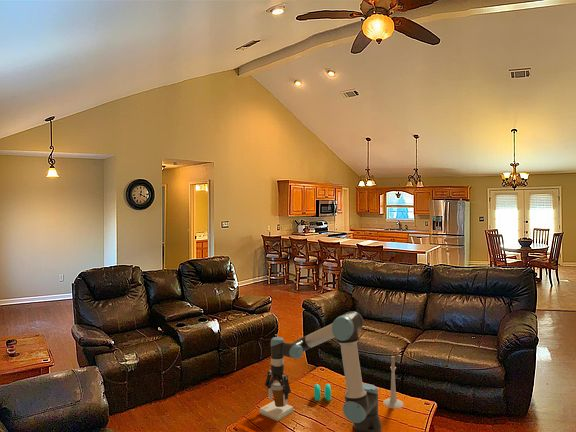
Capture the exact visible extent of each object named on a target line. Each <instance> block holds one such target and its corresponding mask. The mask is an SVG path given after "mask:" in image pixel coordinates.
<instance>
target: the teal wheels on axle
mask: <svg viewBox="0 0 576 432" xmlns="http://www.w3.org/2000/svg"><path fill="white" fill-rule="evenodd" d="M331 387H332V386H331V384H330V383H326V384H325V385H324V398H325V400H326V401H327V402H330V401H331V400H332V389H331ZM321 395H322V394H321V386H320V385H319V384H318V383H316V384H314V395H313V396H314V401H316V402H319V401H320V399H321Z"/></svg>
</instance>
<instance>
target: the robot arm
mask: <svg viewBox="0 0 576 432" xmlns="http://www.w3.org/2000/svg"><path fill="white" fill-rule="evenodd" d="M363 326H364V318H363V316H362V315H361V313H359V312H357V311H353V310H351V311H348V312H345V313H343V314H342V315H339V316H337V317H336V318H335V319H334V320H333V322H332V323H330V324H328V325H326V326H324V327H322V328H319V329H317V330H315V331H314V332H313V331H312V332H311V333H309V334H307V335H304V336H302V337H300V338H299V339H297V340H295V341H293V342H291V343H289V342H284V338H283V337H281V336H274V337H272V338H271V339H270V370H268V371H267V375H266V378H265V383H264V386H265V387H266V388H267V393H268V400H269V401H270V400H272V399H274V397H273V392H272V389H271V385H272V383H274V382H279V383H280V384H281V386H283V385H285V386H283V391H284V394H283V405H286V404H287V405H288V399H289V394H290V393H292V391H291V388H290V382H289V376H288V375H287V374H286V375H285V374H284V370H285V363H284V362H285V361H284V358H285V357H287V358H291V359H301V358H302V356H303V353H304V352H306V351H308V350H309V349H312V348H314V347H316V346H319V345H321V344H323V343H325V342H327V341H329V340H332V339H336V341H337V344H339V345H340V352H341V358H342V364H343V365H342V366H343V372H344V380H345V388H346V391H345V392H344V402H345V403H343V405H342V412H343V415H344V416H345V418H346V419H347V420H348V421H349V422H351V423H353V428H354V430H355V431H356V432H381V431H382V430H383V429H382V426H383V425H382V422H381V417H380V416H379V415H380V414H379V389H378V387H377V386H375V384H370V383H366V382H365V383H363V378H362V372H361V364H360V359H359V351H358V342H359V341H360V337H359V332H360V331H361V330H362V328H363Z"/></svg>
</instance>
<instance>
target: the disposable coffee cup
mask: <svg viewBox="0 0 576 432" xmlns="http://www.w3.org/2000/svg"><path fill="white" fill-rule="evenodd" d="M283 386H285V385H283ZM283 386H281V384H280V383H279V381H274V383H272V385H271V389H272V392H273V401H274V402H275V406H276V407H283V406H285V405H283V394H284V391H283Z"/></svg>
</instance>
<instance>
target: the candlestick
mask: <svg viewBox="0 0 576 432" xmlns="http://www.w3.org/2000/svg"><path fill="white" fill-rule="evenodd" d="M395 357H396V356H394V355H391V364H390V365H391V366H390V368H389V369H390V370H391V374H390V375H391V378H390V398H389V397H388V398H386V399H384V400H383V402H382V403H383V405H384V406H385V407H387V408H389V409H394V410H395V409H402V408H403V406H404V402H403V401H402V400H400V399H398V398H397V390H396V386H397V385H396V373H395V372H396V370H397V367H396V361H395V360H396V359H395Z"/></svg>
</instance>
